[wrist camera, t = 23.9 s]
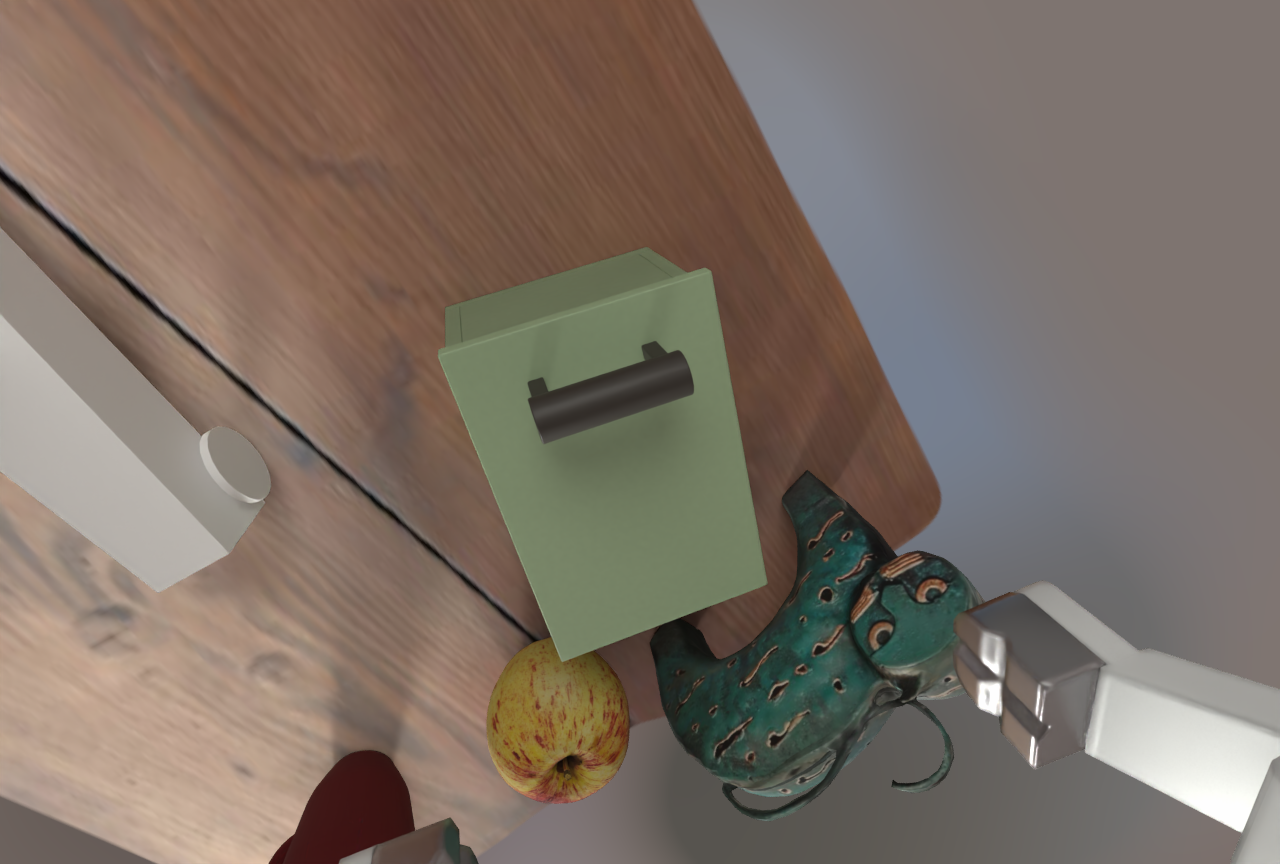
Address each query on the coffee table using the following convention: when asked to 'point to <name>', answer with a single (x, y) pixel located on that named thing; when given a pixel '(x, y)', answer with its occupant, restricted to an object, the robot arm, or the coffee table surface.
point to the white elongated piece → (112, 440)
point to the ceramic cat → (818, 660)
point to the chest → (555, 294)
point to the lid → (615, 459)
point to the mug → (350, 812)
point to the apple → (557, 724)
